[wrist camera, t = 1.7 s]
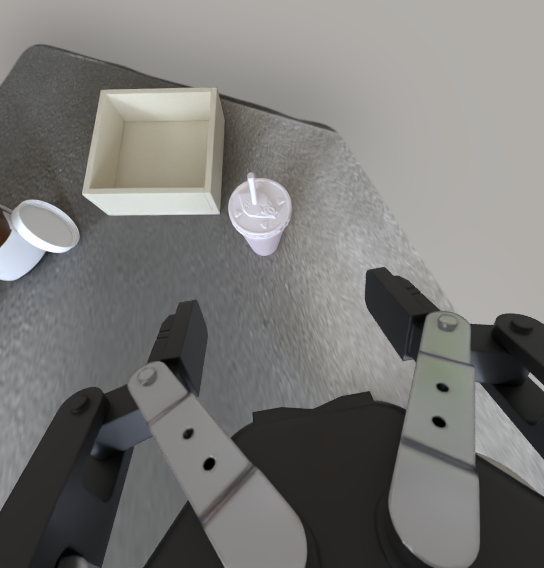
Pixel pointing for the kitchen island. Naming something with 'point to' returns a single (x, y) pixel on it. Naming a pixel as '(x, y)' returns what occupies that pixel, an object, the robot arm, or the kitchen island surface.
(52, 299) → the kitchen island surface
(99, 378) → the kitchen island surface
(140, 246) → the kitchen island surface
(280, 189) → the smoothie
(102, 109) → the wooden tray
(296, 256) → the kitchen island surface
